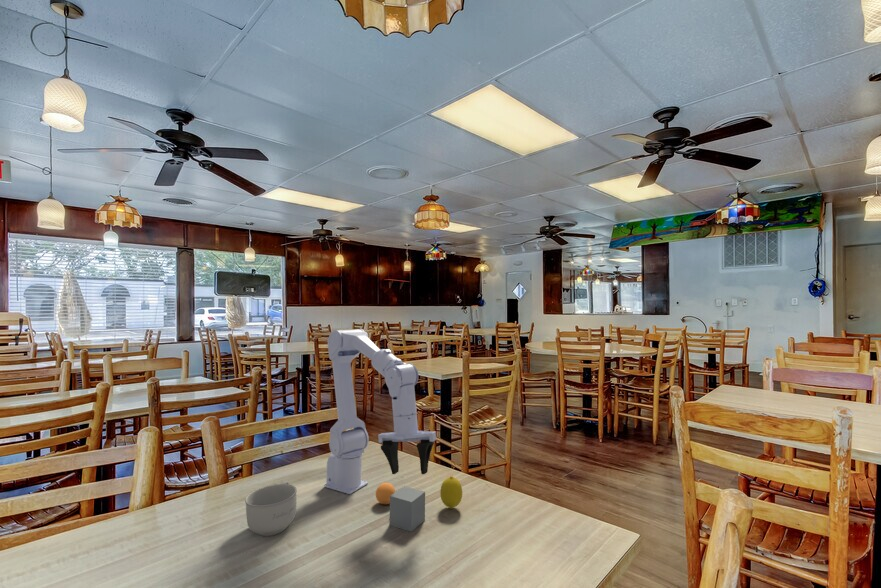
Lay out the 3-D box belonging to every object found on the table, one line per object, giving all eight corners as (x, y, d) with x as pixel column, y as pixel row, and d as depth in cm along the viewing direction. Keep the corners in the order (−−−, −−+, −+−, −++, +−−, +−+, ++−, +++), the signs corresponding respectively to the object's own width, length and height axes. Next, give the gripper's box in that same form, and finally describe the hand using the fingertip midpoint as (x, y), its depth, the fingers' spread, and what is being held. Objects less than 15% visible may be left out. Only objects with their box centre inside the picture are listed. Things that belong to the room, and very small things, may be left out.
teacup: (278, 545, 85) (279, 506, 86) (233, 538, 88) (234, 501, 88) (311, 512, 99) (312, 479, 99) (272, 507, 101) (273, 475, 102)
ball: (371, 505, 103) (371, 485, 103) (383, 497, 108) (383, 478, 108) (387, 509, 101) (387, 489, 101) (398, 501, 105) (399, 482, 106)
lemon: (453, 516, 98) (454, 483, 98) (435, 509, 101) (436, 477, 102) (466, 507, 103) (466, 475, 103) (448, 501, 106) (449, 470, 106)
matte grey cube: (389, 524, 94) (389, 495, 94) (403, 513, 99) (404, 486, 99) (411, 531, 91) (411, 502, 91) (424, 519, 96) (425, 491, 97)
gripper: (370, 418, 97) (374, 478, 95) (426, 416, 92) (431, 478, 90) (384, 413, 104) (388, 469, 102) (437, 410, 99) (442, 469, 97)
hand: (409, 473), depth 96 cm, fingers open, 7 cm apart
